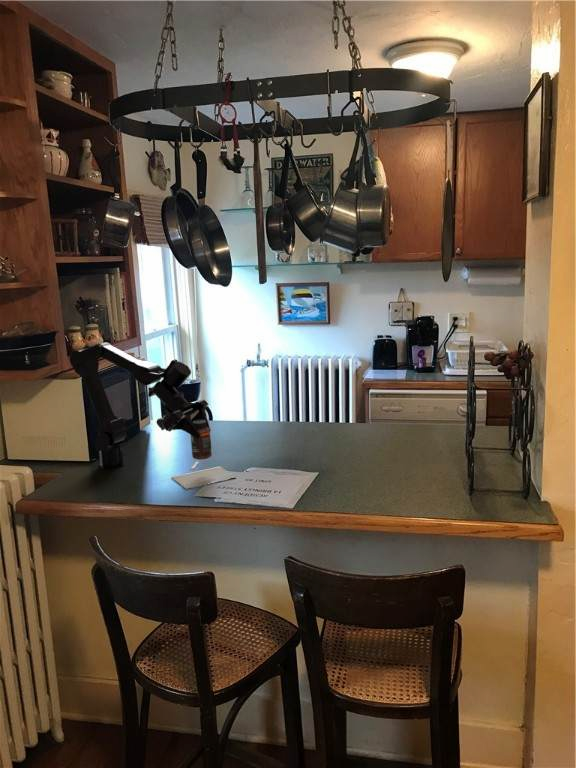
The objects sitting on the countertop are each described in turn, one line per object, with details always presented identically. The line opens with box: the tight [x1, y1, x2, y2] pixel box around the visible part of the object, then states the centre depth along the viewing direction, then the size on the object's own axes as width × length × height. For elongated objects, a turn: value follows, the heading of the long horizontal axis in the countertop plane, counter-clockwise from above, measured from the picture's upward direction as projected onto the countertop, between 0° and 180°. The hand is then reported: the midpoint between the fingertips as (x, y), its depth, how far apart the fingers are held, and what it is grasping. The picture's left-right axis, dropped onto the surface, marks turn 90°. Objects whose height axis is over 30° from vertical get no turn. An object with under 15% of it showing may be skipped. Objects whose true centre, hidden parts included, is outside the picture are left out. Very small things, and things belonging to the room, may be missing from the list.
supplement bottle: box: [190, 420, 213, 461], centre depth 188 cm, size 6×6×11 cm
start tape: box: [190, 460, 200, 470], centre depth 199 cm, size 1×7×1 cm, turn 173°
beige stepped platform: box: [171, 465, 230, 490], centre depth 187 cm, size 16×12×1 cm
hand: (204, 434), depth 187 cm, fingers closed on supplement bottle, 6 cm apart
